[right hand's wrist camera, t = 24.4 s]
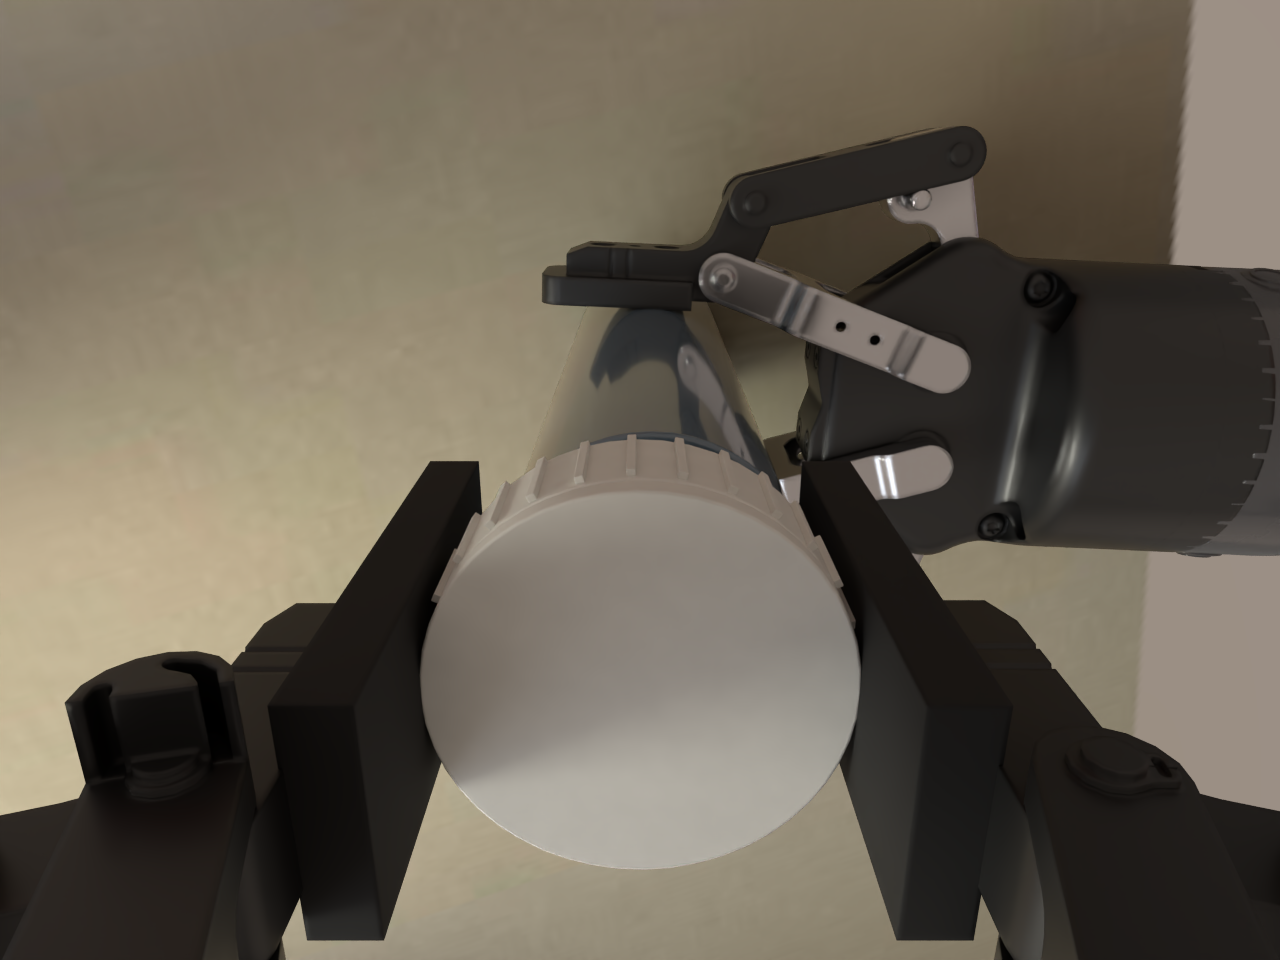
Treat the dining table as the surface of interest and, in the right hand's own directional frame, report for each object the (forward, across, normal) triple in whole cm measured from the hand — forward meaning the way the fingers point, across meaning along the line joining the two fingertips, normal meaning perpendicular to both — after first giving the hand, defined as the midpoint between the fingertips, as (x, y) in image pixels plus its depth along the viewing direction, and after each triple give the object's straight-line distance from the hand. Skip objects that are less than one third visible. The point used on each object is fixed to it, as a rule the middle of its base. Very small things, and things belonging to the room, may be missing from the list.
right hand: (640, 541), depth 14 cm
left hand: (+10, -2, 0) cm, 10 cm away
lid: (-4, 0, 0) cm, 4 cm away
